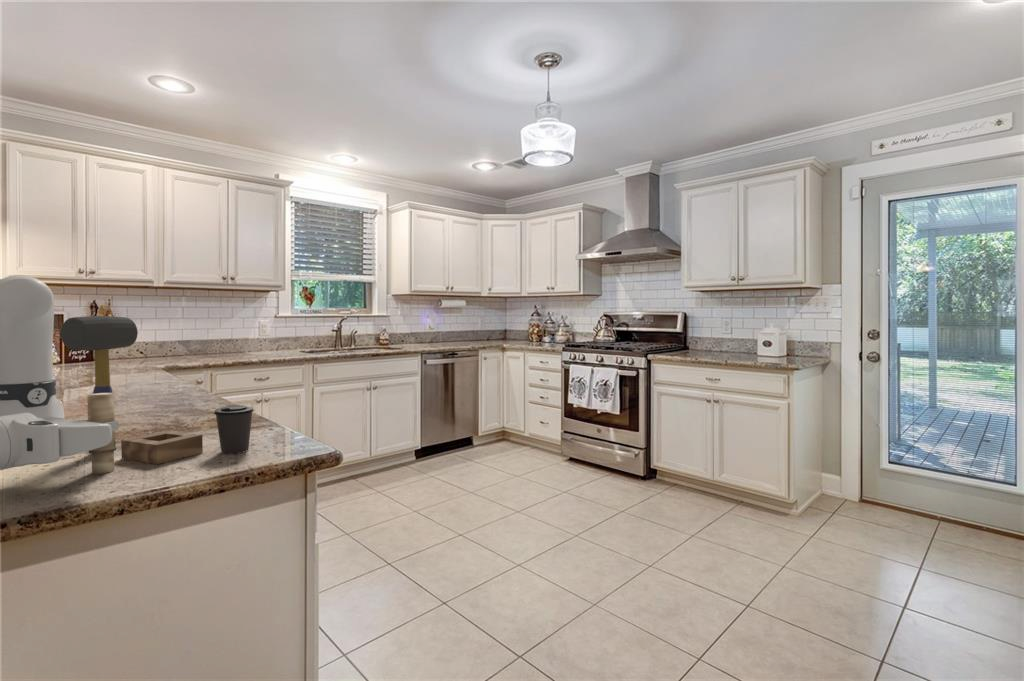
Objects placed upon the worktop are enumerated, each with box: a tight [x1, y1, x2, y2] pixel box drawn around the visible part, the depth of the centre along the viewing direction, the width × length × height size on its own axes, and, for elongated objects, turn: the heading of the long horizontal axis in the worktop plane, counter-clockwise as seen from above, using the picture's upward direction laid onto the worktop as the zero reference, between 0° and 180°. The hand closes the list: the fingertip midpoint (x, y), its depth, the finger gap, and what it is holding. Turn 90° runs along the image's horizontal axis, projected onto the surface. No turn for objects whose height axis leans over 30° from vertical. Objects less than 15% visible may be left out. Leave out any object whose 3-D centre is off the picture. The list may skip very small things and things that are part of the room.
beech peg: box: [86, 392, 117, 475], centre depth 100 cm, size 4×4×15 cm
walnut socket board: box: [120, 429, 204, 465], centre depth 112 cm, size 11×10×4 cm
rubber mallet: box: [60, 315, 139, 444], centre depth 114 cm, size 12×8×30 cm, turn 167°
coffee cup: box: [213, 404, 255, 454], centre depth 116 cm, size 8×8×10 cm
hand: (106, 424), depth 101 cm, fingers closed on beech peg, 4 cm apart
